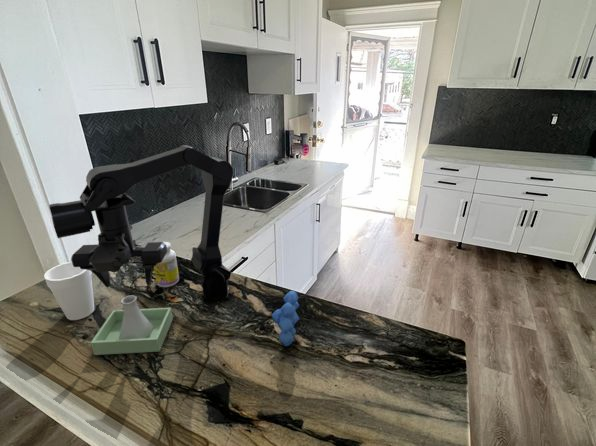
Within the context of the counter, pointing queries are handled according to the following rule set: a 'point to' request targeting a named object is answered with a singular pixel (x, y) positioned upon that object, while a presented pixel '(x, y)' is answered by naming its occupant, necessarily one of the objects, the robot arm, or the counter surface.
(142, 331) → the flask
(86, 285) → the foam cup
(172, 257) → the supplement bottle
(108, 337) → the green tray
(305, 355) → the counter surface
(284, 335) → the grapes
